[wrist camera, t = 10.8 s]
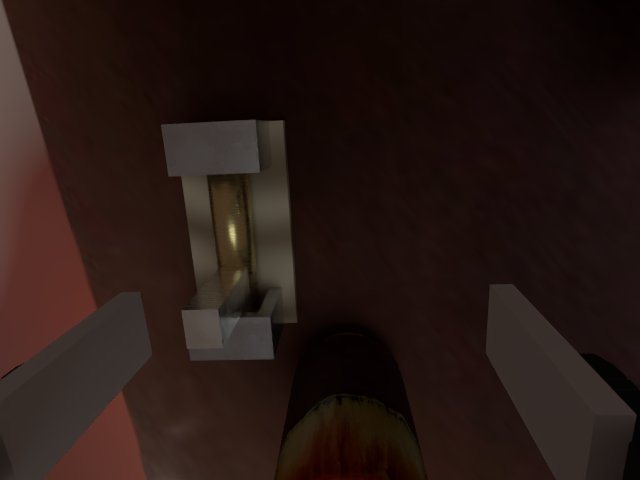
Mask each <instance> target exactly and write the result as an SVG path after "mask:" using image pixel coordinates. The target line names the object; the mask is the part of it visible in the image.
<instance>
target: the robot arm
mask: <svg viewBox="0 0 640 480" xmlns="http://www.w3.org/2000/svg"><path fill="white" fill-rule="evenodd" d="M486 354H487V356H488V358H489V360H490V361H491V363H492V365H493V367H494V369H495V370H496V372H497V374H498V376H499V378H500V379H501V381H502V383H503V385H504V387H505V388H506V390H507V392H508V394H509V396H510V397H511V399H512V401H513V403H514V405H515V406H516V408H517V410H518V412H519V414H520V415H521V417H522V419H523V421H524V423H525V424H526V426H527V428H528V430H529V432H530V433H531V435H532V437H533V439H534V441H535V443H536V444H537V446H538V448H539V450H540V452H541V453H542V455H543V457H544V459H545V461H546V462H547V464H548V466H549V468H550V470H551V471H552V473H553V475H554V477H555V479H556V480H640V390H638V388H637V387H636V386H635V385H634V384H633V383H632V382H631V381H630V380H627V377H626V376H625V375H624V374H623V373H622V372H621V371H620V370H619V369H617V368H616V367H615V366H614V365H613V364H611V363H610V362H608V361H606V360H604V359H602V358H601V357H599V356H597V355H595V354H578V353H577V352H576V351H575V349H574V348H573V347H572V346H571V345H570V344H569V343H568V342H567V341H566V340H565V339H564V338H563V337H562V336H561V335H560V334H559V333H558V332H557V331H556V329H555V328H554V327H553V326H552V325H551V324H550V323H549V322H548V321H547V320H546V319H545V318H544V317H543V316H542V315H541V314H540V313H539V312H538V311H537V309H536V308H535V307H534V306H533V305H532V304H531V303H530V302H529V301H528V300H527V299H526V298H525V297H524V296H523V295H522V294H521V293H520V292H519V291H518V289H517V288H516V287H515V286H514V285H513V284H498V285H490V293H489V310H488V326H487V342H486ZM151 355H152V350H151V345H150V340H149V335H148V330H147V325H146V320H145V315H144V310H143V305H142V300H141V295H140V292H121V293H120V294H118V295H117V296H115V297H114V298H113V299H111V300H110V301H109V302H107V303H106V304H104V305H103V306H102V307H100V308H99V309H98V310H96V311H95V312H94V313H92V314H91V315H89V316H88V317H87V318H85V319H84V320H83V321H81V322H80V323H79V324H77V325H76V326H74V327H73V328H72V329H70V330H69V331H67V332H66V333H65V334H63V335H62V336H61V337H59V338H58V339H57V340H55V341H54V342H52V343H51V344H50V345H48V346H47V347H46V348H44V349H43V350H41V351H40V352H39V353H37V354H36V355H35V356H33V357H32V358H30V359H29V360H28V361H26V362H25V363H23V364H21V365H19V366H17V367H15V368H14V369H13V370H11V371H10V372H8V373H7V374H6V375H5V376H3V377H2V379H1V380H0V480H43V479H44V477H45V476H46V475H47V474H48V473H49V472H50V471H51V469H52V468H53V467H54V466H55V465H56V464H57V463H58V462H59V460H60V459H61V458H62V457H63V456H64V455H65V453H66V452H67V451H68V450H69V449H70V448H71V447H72V445H73V444H74V443H75V442H76V441H77V440H78V439H79V438H80V436H81V435H82V434H83V433H84V432H85V431H86V430H87V428H88V427H89V426H90V425H91V424H92V423H93V422H94V420H95V419H96V418H97V417H98V416H99V415H100V413H101V412H102V411H103V410H104V409H105V408H106V406H107V405H108V404H109V403H110V402H111V401H112V400H113V399H114V398H115V396H116V395H117V394H118V393H119V392H120V391H121V390H122V388H123V387H124V386H125V385H126V384H127V383H128V382H129V380H130V379H131V378H132V377H133V376H134V375H135V374H136V372H137V371H138V370H139V369H140V368H141V367H142V366H143V364H144V363H145V362H146V361H147V360H148V359H149V358H150V356H151Z"/></svg>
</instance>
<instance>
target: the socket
mask: <svg viewBox="0 0 640 480" xmlns="http://www.w3.org/2000/svg"><path fill="white" fill-rule="evenodd" d="M283 326H284V311H283V298H282V287H270V288H269V290H268V292H267V294H266V297H265V299H264V301H263V303H262V305H261V308H260V310H259V312H245V313H242V314H241V316H240V318H239V320H238V321H237V323H236V325H235V327H234V329H233V331H232V333H231V334H230V336H229V338H228V340H227V342H226V344H225V346H224V347H223V348H209V349H189V353H190V359H191V360H249V359H274V357H275V354H276V350H277V347H278V343H279V340H280V337H281V333H282V330H283Z"/></svg>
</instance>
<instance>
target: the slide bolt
mask: <svg viewBox="0 0 640 480" xmlns="http://www.w3.org/2000/svg"><path fill="white" fill-rule="evenodd" d="M206 178H207V186H208V194H209V203H210V211H211V219H212V227H213V235H214V244H215V252H216V260H217V268H218V269H217V271H216V272H215V273H214V274H213V275H212V276H211V277H210V279H209V280H208V281H207V282H206V283H205V284H204V285H203V286H202V288H201V289H200V290H199V291H198V292H197V293H196V294H195V296H194V297H193V298H192V299H191V300H190V301H189V302H188V303H187V305H186V306H185V307H184V308H183V309H182V310H181V311H182V317H183V324H184V331H185V337H186V344H187V349H209V348H223V347H224V346H225V344H226V342H227V340H228V338H229V336H230V334H231V333H232V331H233V329H234V327H235V325H236V323H237V321H238V320H239V318H240V316H241V314H242V313H245V312H259V310H260V297H259V287H258V276H257V265H256V255H255V244H254V234H253V223H252V213H251V202H250V192H249V181H248V173H236V174H214V175H206Z"/></svg>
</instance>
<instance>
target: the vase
mask: <svg viewBox="0 0 640 480" xmlns="http://www.w3.org/2000/svg"><path fill="white" fill-rule="evenodd" d="M274 480H428V478H427V474H426V470H425V466H424V462H423V458H422V454H421V450H420V446H419V442H418V437H417V433H416V429H415V425H414V422H413V418H412V414H411V410H410V406H409V402H408V398H407V394H406V390H405V386H404V382H403V379H402V376H401V373H400V370H399V367H398V364H397V362H396V361H395V359H394V357H393V356H392V355H391V353H390V352H389V351H388V350H387V349H386V348H384V347H383V346H382V345H380V343H379V342H377V341H376V340H375V339H374V338H372V337H371V336H369V335H367V334H365V333H363V332H359V331H355V330H339V331H334V332H331V333H329V334H327V335H325V336H323V337H322V338H320V339H319V340H318V341H317V342H316V343H315V344H314V345H313V346H311V347H310V348H309V349H308V350H307V351H306V352H305V354H304V355H303V356H302V358H301V359H300V361H299V363H298V365H297V369H296V372H295V376H294V380H293V384H292V389H291V395H290V400H289V405H288V410H287V415H286V420H285V425H284V430H283V435H282V441H281V446H280V451H279V456H278V462H277V467H276V472H275V478H274Z"/></svg>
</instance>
